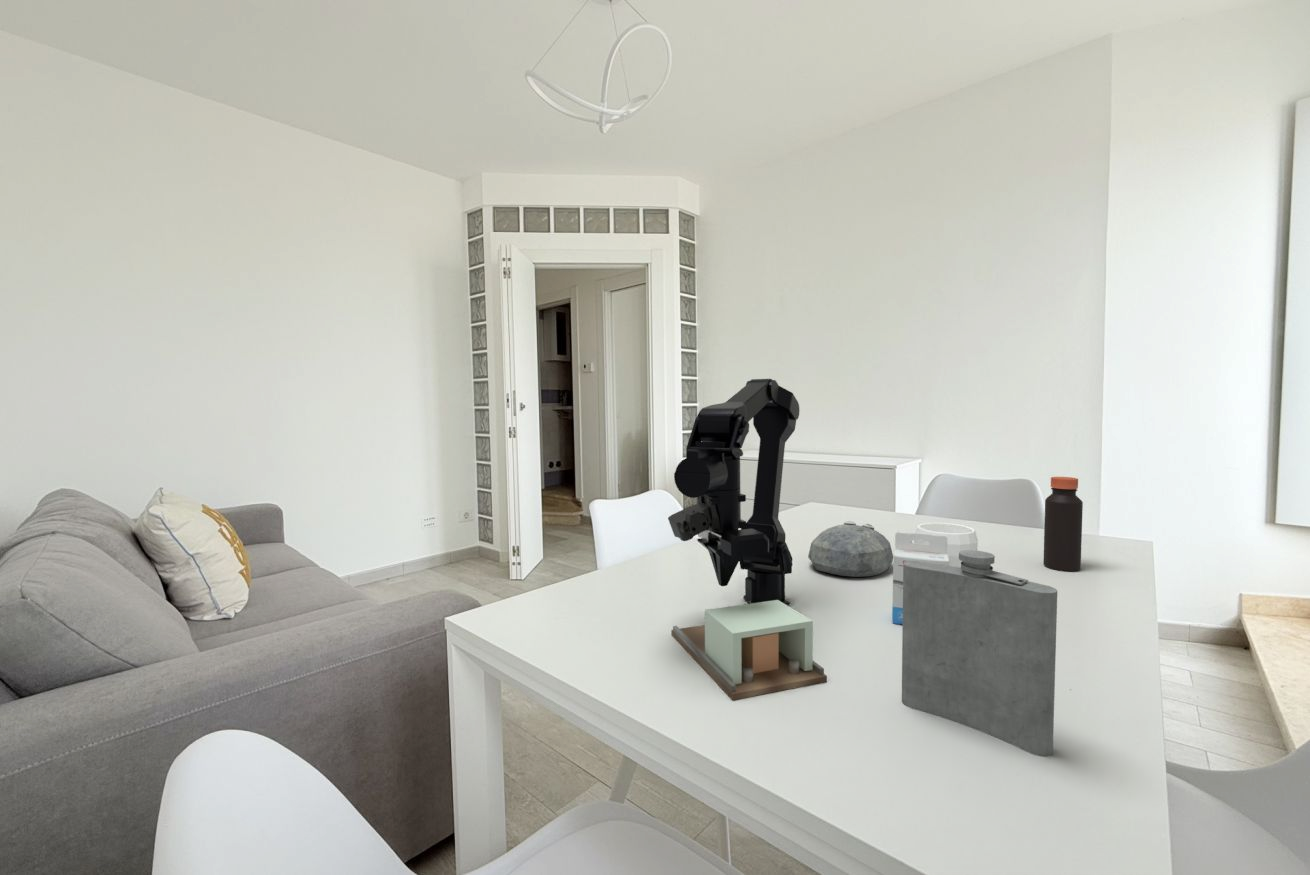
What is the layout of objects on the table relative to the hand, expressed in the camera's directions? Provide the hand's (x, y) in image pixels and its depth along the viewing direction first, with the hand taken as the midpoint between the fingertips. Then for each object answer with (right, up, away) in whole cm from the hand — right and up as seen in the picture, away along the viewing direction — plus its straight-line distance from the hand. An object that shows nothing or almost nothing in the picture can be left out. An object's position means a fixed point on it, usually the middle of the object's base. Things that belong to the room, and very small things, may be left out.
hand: (723, 585), depth 91 cm
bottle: (+80, -6, +37) cm, 88 cm away
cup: (+53, -6, +35) cm, 63 cm away
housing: (+4, -9, -10) cm, 14 cm away
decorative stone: (+34, -6, +39) cm, 52 cm away
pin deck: (+2, -9, -6) cm, 11 cm away
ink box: (+34, -8, +6) cm, 35 cm away
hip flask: (+26, -10, -24) cm, 37 cm away
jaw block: (+4, -8, -10) cm, 14 cm away
